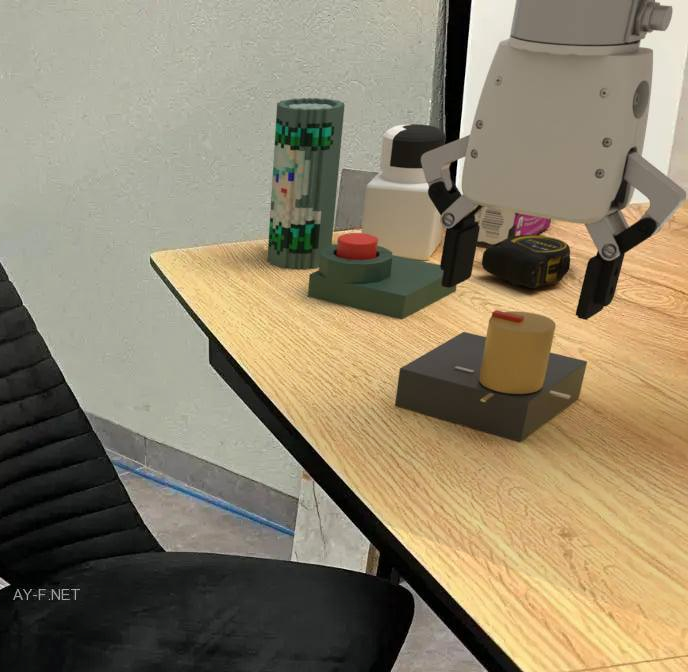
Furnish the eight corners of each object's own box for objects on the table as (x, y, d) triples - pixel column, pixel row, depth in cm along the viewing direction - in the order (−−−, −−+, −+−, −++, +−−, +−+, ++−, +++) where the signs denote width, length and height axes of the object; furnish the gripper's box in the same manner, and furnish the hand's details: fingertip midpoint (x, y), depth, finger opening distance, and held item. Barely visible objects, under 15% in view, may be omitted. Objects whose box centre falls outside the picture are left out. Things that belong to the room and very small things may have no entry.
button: (383, 256, 106) (385, 237, 105) (362, 265, 103) (364, 246, 102) (349, 249, 108) (351, 230, 107) (328, 258, 106) (330, 239, 105)
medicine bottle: (441, 243, 121) (458, 122, 114) (428, 261, 116) (445, 136, 109) (374, 236, 124) (387, 118, 117) (358, 254, 118) (371, 132, 112)
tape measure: (474, 278, 111) (481, 239, 109) (527, 267, 113) (534, 229, 111) (527, 298, 106) (534, 258, 104) (581, 285, 108) (589, 246, 106)
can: (256, 260, 117) (265, 103, 109) (297, 248, 120) (309, 95, 112) (299, 273, 113) (312, 112, 105) (341, 261, 116) (356, 103, 108)
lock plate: (602, 404, 86) (612, 364, 84) (533, 458, 78) (542, 415, 77) (457, 367, 92) (463, 329, 91) (382, 413, 85) (387, 373, 83)
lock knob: (553, 380, 82) (567, 315, 79) (526, 399, 79) (539, 333, 77) (495, 366, 84) (507, 302, 82) (467, 384, 82) (478, 319, 79)
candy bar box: (512, 253, 117) (544, 80, 108) (466, 245, 120) (493, 76, 111) (553, 228, 124) (586, 64, 115) (508, 221, 127) (537, 60, 118)
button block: (455, 291, 108) (462, 249, 106) (400, 320, 102) (406, 276, 99) (361, 271, 114) (365, 230, 111) (303, 297, 107) (307, 254, 105)
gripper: (749, 26, 66) (668, 312, 76) (474, 5, 76) (432, 260, 86) (705, 40, 62) (625, 343, 71) (418, 15, 72) (381, 284, 81)
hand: (520, 297), depth 78 cm, fingers open, 9 cm apart
